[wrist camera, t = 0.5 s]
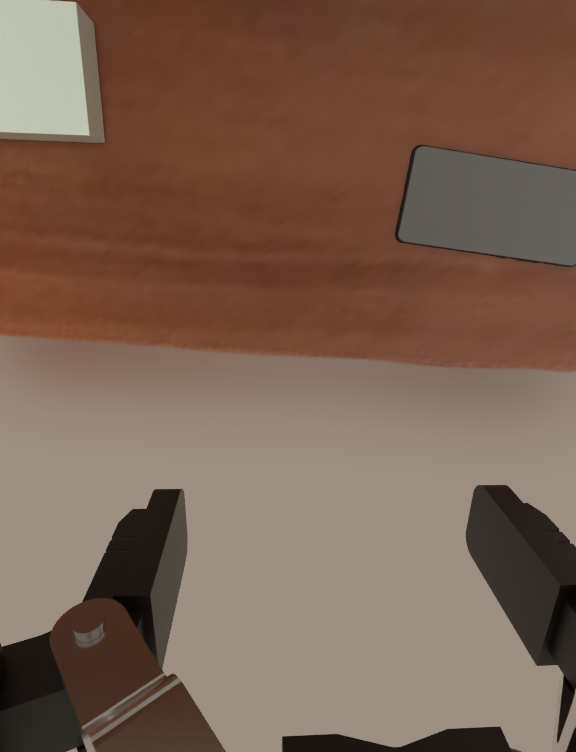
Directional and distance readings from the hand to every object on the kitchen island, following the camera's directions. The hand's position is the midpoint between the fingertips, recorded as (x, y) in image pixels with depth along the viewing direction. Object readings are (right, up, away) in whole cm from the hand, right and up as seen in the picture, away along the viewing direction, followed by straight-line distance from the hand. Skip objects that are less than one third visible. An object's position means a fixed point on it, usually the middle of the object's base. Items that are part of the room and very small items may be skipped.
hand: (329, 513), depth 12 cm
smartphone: (+15, +17, +23) cm, 32 cm away
